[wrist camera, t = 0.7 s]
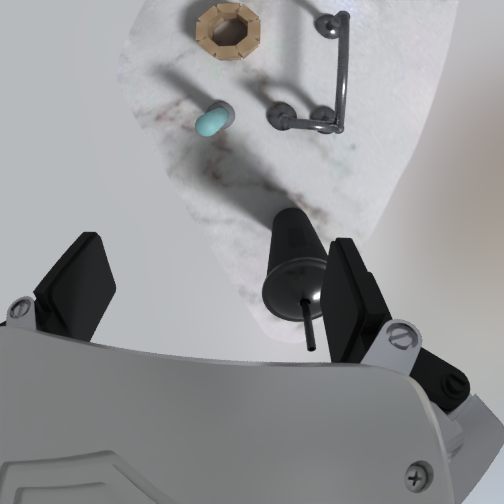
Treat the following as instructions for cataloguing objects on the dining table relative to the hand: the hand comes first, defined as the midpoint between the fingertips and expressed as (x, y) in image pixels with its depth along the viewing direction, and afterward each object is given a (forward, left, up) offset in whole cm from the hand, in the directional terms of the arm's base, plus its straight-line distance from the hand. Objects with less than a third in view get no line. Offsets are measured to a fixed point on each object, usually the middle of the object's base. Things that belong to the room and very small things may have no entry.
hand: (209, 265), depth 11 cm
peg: (-3, -3, -24) cm, 25 cm away
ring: (-13, -2, -24) cm, 28 cm away
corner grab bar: (-9, +7, -24) cm, 27 cm away
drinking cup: (+11, +6, -24) cm, 27 cm away
